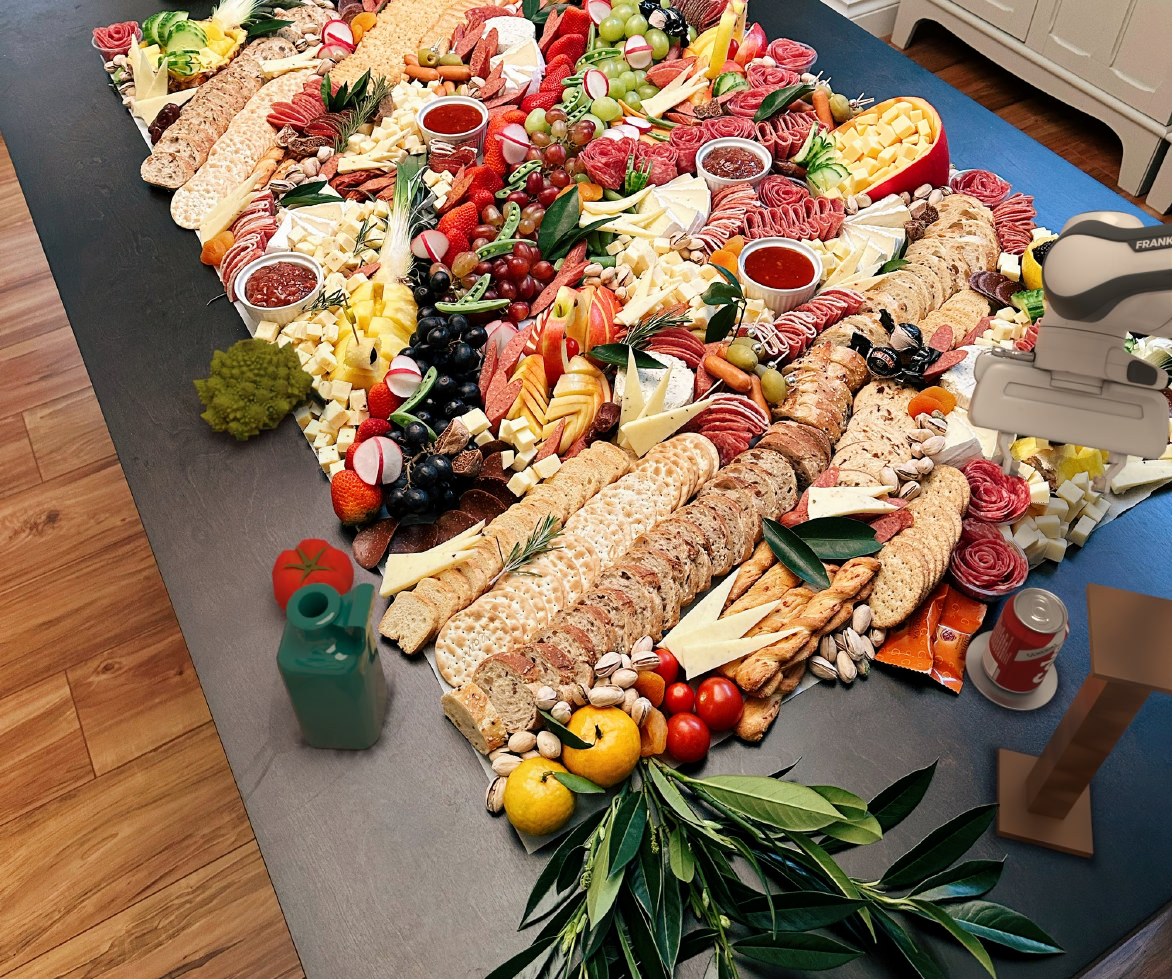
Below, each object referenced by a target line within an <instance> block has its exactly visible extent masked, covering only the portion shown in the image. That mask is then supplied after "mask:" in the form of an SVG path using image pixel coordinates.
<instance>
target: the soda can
mask: <svg viewBox="0 0 1172 979" xmlns="http://www.w3.org/2000/svg"><path fill="white" fill-rule="evenodd" d="M992 631H993V632H992V634H991V636H990V638H989V640H988V643H987V645H986V647H985V649H984V652H983V655H982V662H983V666H984V669H985V671H986V673H987V674H988V676H989V677H990V678H991V679H992V680H993V681H994V682H995V683H996V684H997V685H999V686H1000V687H1002V688H1004V689H1006V690H1009V691H1012V692H1017V693H1026V692H1030V691H1033V690H1035V689H1036V688H1038V687H1039V686H1040V685H1041V683H1042V682H1043V680H1044V678H1045V676H1046V674H1047V672H1048V671H1049V669H1050V667H1051V665H1052V663H1053V664H1054V661H1055V660H1056V658H1057V656H1058V655H1059V652H1060V650H1061V648H1062V647H1063V645H1064V643H1065V641H1066V640H1067V638H1068V635H1069V633H1070V622H1069V612H1068V610H1067V607H1066V605H1065V603H1064V602H1063V601H1062V600H1061V598H1059V597H1058V596H1057V595H1056V594H1055V593H1052V592H1051V591H1049V590H1046V589H1044V588H1039V587H1028V588H1025V589H1022V590H1020V591H1019V592H1018V593H1016V594H1013V595H1012V596H1010V597H1009V598H1008V599H1007V600H1006V602H1005V603H1004V605H1003V608H1002V610H1001V611H1000V614H999V617H998V618H997V621H996V623H995V625H994V627H993V630H992Z"/></svg>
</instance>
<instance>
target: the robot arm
mask: <svg viewBox="0 0 1172 979" xmlns="http://www.w3.org/2000/svg"><path fill="white" fill-rule="evenodd" d="M1040 275H1041V276H1040V278H1041V285H1042V290H1043V292H1044V295H1045V297H1046V308H1045V310H1044V314H1043V316H1042V318H1041V319H1040V321H1039V326H1038V330H1037V336H1036V341H1035V347H1034V351H1026V350H1022V349H1021V350H1020V349H1009V348H1006V347H1003V346H992V347H991V348H987V349H984V350H982V351H980V352H979V354H977V356H976V358H975V361H974V367H973V371H972V372H973V378H974V380H975V386H974V388H973V390H972V391H973V392H972V394H971V398H970V401H969V404H968V410H967V413H966V418H967V420H968V421H969V423H970V425H971V426H972V427H975V428H981V429H985V430H992V431H996V432H997V436H996V444H997V446H998V449H999V452H1000V455H1001V457H1002V458H1003V461H1002V467H1001V475H1003V476H1007V477H1014V478H1018V476H1019V473H1020V471H1019V469H1020V468H1021V461H1019V460H1016V459H1013V456H1012V453H1011V450H1010V447H1009V445H1013V444H1014V440H1015V435H1018V436H1023V437H1029V438H1034V439H1040V440H1046V441H1050V442H1055V443H1062V444H1067V445H1072V446H1076V447H1077V446H1078V447H1082V448H1089V449H1094V450H1100V451H1103V452H1104V451H1105V452H1108V453H1107V459H1106V461H1107V462H1108V463H1111V464H1110V465H1109V466H1108V467H1107V469H1106V470H1105V471H1104V472H1103V473H1102V474H1101V475H1095V474H1093V475H1092V480H1091V481H1092V484H1091V486H1090V491H1091V492H1093V493H1095V494H1102V495H1106V496H1109V494H1110V491H1111V487H1112V486H1111V485H1112V480H1114V479H1115V478H1116V477H1117V476H1118V475H1119V473H1120V472H1121V471H1122V470H1124V468H1125V467H1126V466H1127V461H1128V456H1131V457H1137V458H1140V459H1141V458H1142V459H1148V460H1152V461H1155V460H1158V459H1160V458H1161V457H1162V456H1163V455H1165V453H1166V451H1167V446H1168V441H1169V431H1170V406H1169V405H1170V404H1169V401H1168V399H1167V397H1166V396H1165V394H1163V393H1162V392H1161V391H1159V390H1163V389H1165V388H1166V387H1167V385H1168V381H1169V374H1168V372H1167V371H1166V370H1165V369H1163V368H1162V367H1159V366H1157V365H1154V364H1153V363H1150V362H1149V361H1146V360H1144V359H1142V358H1141V357H1138V356H1137V355H1134V354H1133V353H1130V352H1128V351H1126V350H1125V347H1126V341H1127V334H1128V332H1131V333H1137V334H1142V335H1146V336H1151V337H1155V338H1161V339H1172V222H1169V223H1162V224H1156V225H1148V226H1145V225H1144V224H1143V222H1142V221H1141V220H1140V219H1139V218H1138V217H1136V216H1135V215H1134V214H1131V213H1129V212H1123V211H1119V210H1099V209H1098V210H1090V211H1085V212H1081V213H1078V214H1076V215H1074V216H1072V217H1070V218H1069V219H1068V220H1067V221H1066V222H1065V224H1064V225H1063V227H1062V229H1061V231H1060V233H1059V236H1058V237H1056V239H1055V240H1054V241H1053V242H1052V243H1051V245H1050V246H1049V248H1048V250H1047V251H1046V253H1045V255H1044V258H1043V261H1042V264H1041V271H1040ZM989 353H990V354H989ZM1008 444H1009V445H1008Z"/></svg>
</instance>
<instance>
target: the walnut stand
mask: <svg viewBox="0 0 1172 979" xmlns="http://www.w3.org/2000/svg"><path fill="white" fill-rule="evenodd" d="M1085 595H1086V598H1085V599H1086V611H1087V627H1088V641H1089V656H1090V671H1089V673H1088V675H1087V677H1086V678H1085V679H1084V681H1083V683H1082V684H1081V686H1080V688H1079V689H1078V691H1077V693H1076V695H1075V696H1074V698H1073V700H1072V701H1071V703H1070V705H1069V707H1068V708H1067V710H1066V712H1065V713H1064V715H1063V717H1062V718H1061V719H1060V722H1059V723H1058V724H1057V726H1056V728H1055V730H1054V731H1053V733H1052V734H1051V737H1050V738H1049V740H1048V741H1047V743H1046V745H1045V746H1044V748H1043V749H1042V752H1041V753H1040V754H1039V756H1035V755H1030V754H1026V753H1022V752H1019V751H1013V750H1009V749H1005V748H1001V747H999V749H998V750H997V752H996V804H997V803H998V804H1000V807H998V811H997V810H996V836H999V837H1001V838H1007V839H1010V840H1013V841H1014V840H1015V841H1017V842H1018V841H1019V842H1021V843H1026V844H1030V845H1035V846H1038V847H1043V848H1046V849H1050V850H1054V851H1058V852H1061V853H1062V852H1063V853H1065V854H1070V855H1074V856H1079V857H1082V858H1085V859H1086V858H1087V859H1091V858H1092V856H1093V855H1094V843H1093V842H1094V841H1093V827H1092V826H1093V825H1092V824H1093V823H1092V810H1091V809H1092V808H1091V807H1092V806H1091V791H1090V782H1091V781H1092V780H1093V779H1094V777H1095V775H1096V774H1097V772H1098V771H1099V769H1100V768H1101V766H1102V765H1103V764H1104V762H1105V761H1106V759H1107V758H1108V757H1109V755H1110V754H1111V752H1112V751H1113V750H1114V748H1115V747H1116V745H1117V743H1118V742H1119V741H1120V739H1121V737H1122V736H1123V735H1124V733H1125V732H1126V731H1127V729H1128V727H1129V726H1130V725H1131V723H1132V722H1133V720H1134V718H1135V717H1136V716H1137V714H1138V713H1139V711H1140V710H1141V708H1142V707H1143V705H1144V704H1145V702H1146V701H1147V700H1148V698H1149V697H1150V695H1151V694H1152V692H1155V693H1161V694H1165V695H1170V696H1172V599H1170V598H1165V597H1160V596H1155V595H1151V594H1146V593H1140V592H1136V591H1132V590H1127V589H1126V590H1125V589H1121V588H1116V587H1112V586H1106V585H1102V584H1098V583H1097V584H1096V583H1092V582H1088V583H1087V585H1086V586H1085Z"/></svg>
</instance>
